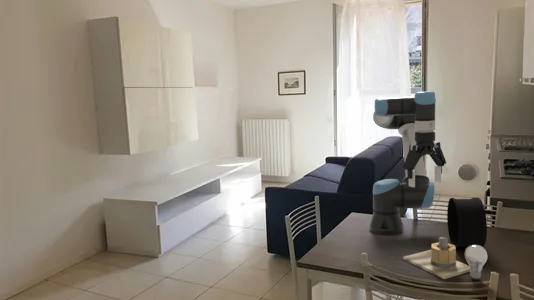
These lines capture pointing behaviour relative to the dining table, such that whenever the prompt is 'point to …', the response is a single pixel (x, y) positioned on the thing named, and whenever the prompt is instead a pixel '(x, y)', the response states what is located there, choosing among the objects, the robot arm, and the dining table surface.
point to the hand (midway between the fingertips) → (425, 184)
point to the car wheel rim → (466, 222)
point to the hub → (443, 254)
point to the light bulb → (475, 259)
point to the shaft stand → (437, 269)
